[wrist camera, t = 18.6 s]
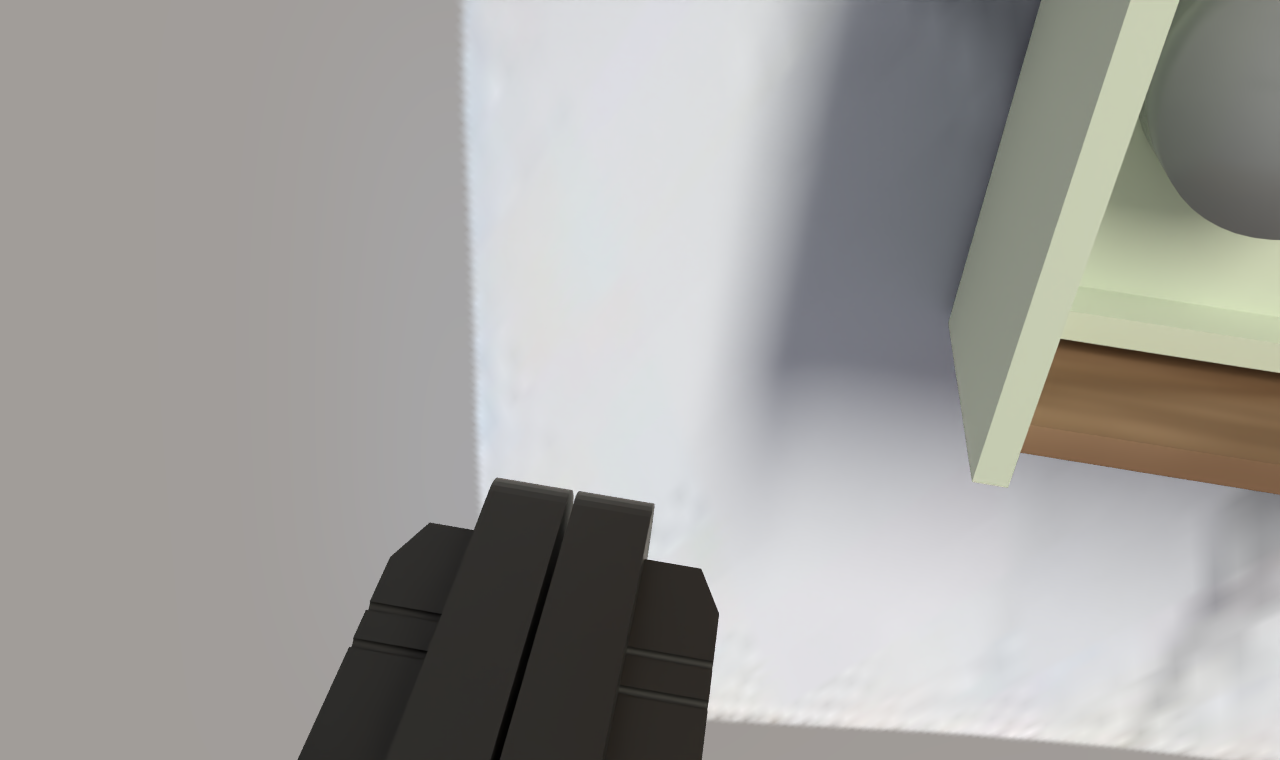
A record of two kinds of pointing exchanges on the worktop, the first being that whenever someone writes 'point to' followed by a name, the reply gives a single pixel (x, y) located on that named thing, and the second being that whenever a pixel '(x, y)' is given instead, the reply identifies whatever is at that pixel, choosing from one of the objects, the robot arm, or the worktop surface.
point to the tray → (1093, 235)
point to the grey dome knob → (1221, 112)
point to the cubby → (1160, 416)
